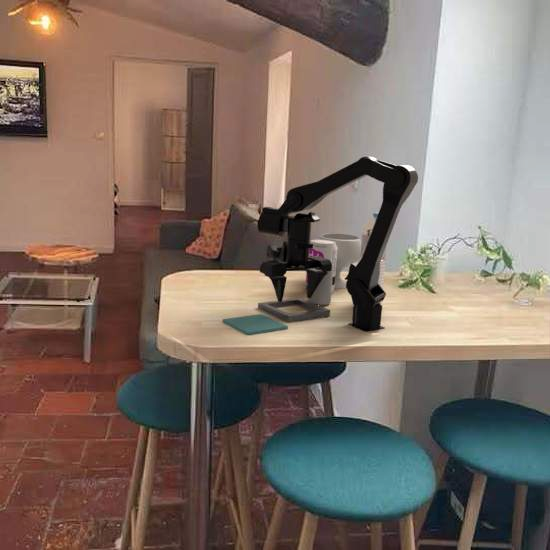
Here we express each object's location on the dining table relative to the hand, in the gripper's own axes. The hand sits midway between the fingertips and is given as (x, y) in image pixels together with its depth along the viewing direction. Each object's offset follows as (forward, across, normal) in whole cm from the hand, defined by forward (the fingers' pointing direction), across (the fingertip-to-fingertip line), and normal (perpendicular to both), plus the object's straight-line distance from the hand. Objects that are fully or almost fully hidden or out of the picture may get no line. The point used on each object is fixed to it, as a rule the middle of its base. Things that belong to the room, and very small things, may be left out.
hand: (294, 299), depth 157 cm
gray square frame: (+3, 0, 0) cm, 3 cm away
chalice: (+4, -30, -18) cm, 36 cm away
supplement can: (+4, -19, -13) cm, 23 cm away
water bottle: (+4, -23, +3) cm, 23 cm away
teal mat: (+3, +15, +5) cm, 16 cm away
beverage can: (+4, -11, -4) cm, 12 cm away
